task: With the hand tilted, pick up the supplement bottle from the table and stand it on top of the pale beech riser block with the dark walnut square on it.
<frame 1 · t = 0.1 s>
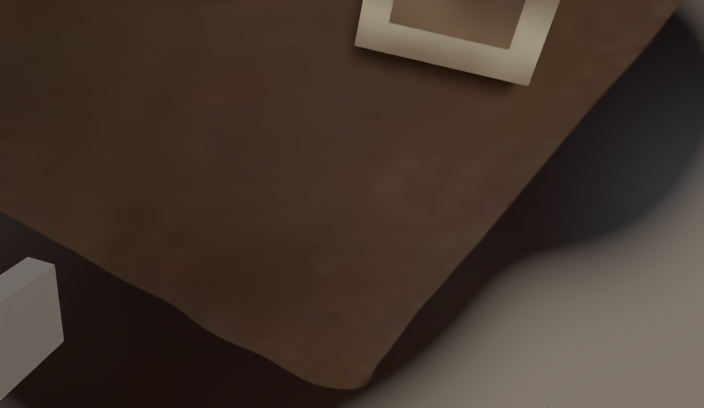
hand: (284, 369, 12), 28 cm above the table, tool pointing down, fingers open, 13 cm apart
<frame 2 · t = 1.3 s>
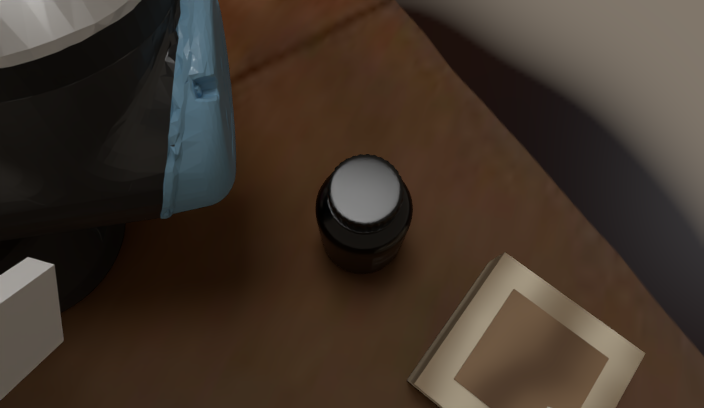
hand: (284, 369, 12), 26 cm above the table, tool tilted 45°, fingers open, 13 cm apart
riser: (511, 366, 36), on the table
supplement bottle: (360, 236, 40), on the table
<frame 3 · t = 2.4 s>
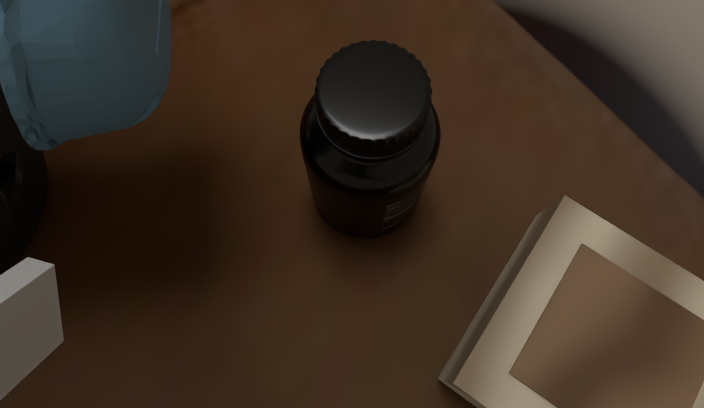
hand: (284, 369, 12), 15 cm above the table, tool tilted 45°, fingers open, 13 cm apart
riser: (577, 352, 27), on the table
supplement bottle: (363, 190, 30), on the table
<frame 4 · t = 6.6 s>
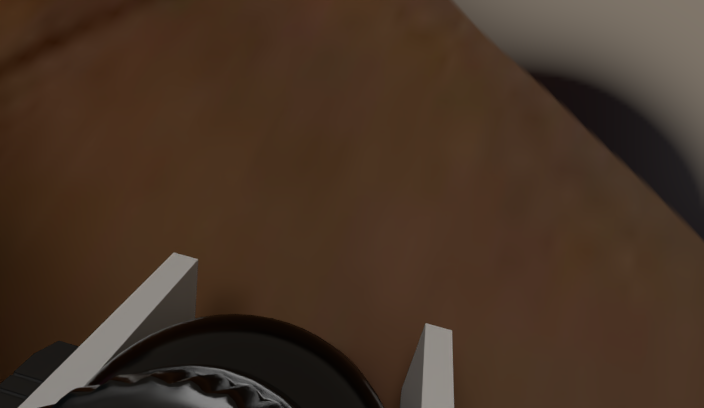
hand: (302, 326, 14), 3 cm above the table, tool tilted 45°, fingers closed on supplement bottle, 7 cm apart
when the fingers open (9 cm above the table, at t = 12.2 s): supplement bottle drops 1 cm, resting on riser.
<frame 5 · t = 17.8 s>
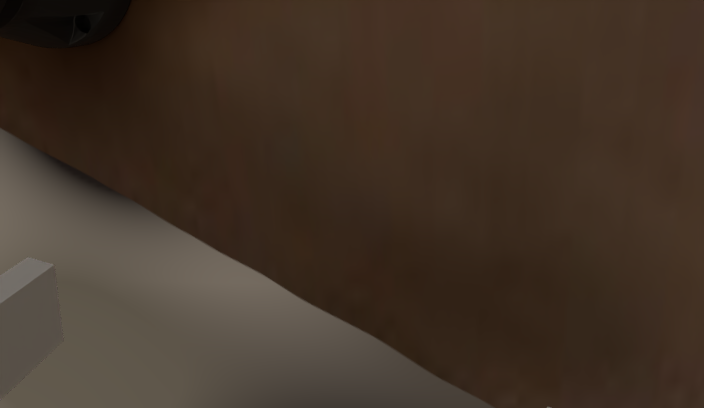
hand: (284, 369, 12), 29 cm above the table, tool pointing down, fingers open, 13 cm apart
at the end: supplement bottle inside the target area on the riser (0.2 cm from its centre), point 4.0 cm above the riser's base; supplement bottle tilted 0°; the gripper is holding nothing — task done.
